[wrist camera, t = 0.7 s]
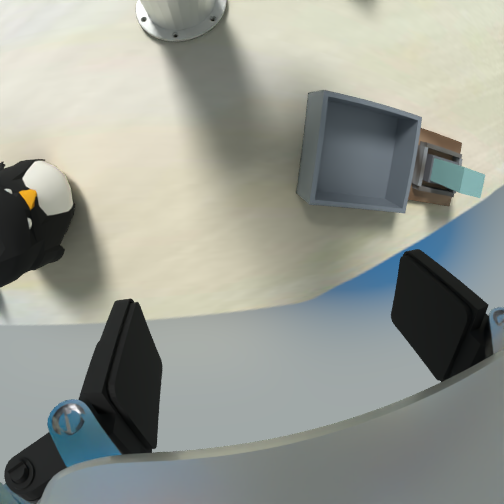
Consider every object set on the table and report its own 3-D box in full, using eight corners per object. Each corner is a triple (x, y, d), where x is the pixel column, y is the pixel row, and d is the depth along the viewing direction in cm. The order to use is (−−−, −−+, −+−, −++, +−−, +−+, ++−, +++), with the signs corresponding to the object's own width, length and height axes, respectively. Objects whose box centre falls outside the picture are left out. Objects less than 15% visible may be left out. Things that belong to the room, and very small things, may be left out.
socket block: (411, 125, 42) (422, 127, 39) (458, 142, 44) (468, 144, 42) (398, 197, 47) (408, 202, 45) (446, 204, 50) (455, 209, 47)
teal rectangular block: (424, 152, 43) (463, 164, 34) (448, 159, 44) (486, 173, 36) (419, 178, 45) (457, 195, 36) (444, 184, 47) (480, 200, 38)
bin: (308, 92, 38) (323, 90, 33) (399, 114, 41) (421, 117, 36) (296, 193, 45) (309, 204, 39) (385, 201, 47) (404, 213, 42)
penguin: (105, 216, 41) (60, 272, 26) (41, 272, 43) (-4, 333, 28) (44, 126, 33) (-28, 140, 18) (-14, 196, 35) (-76, 234, 20)
